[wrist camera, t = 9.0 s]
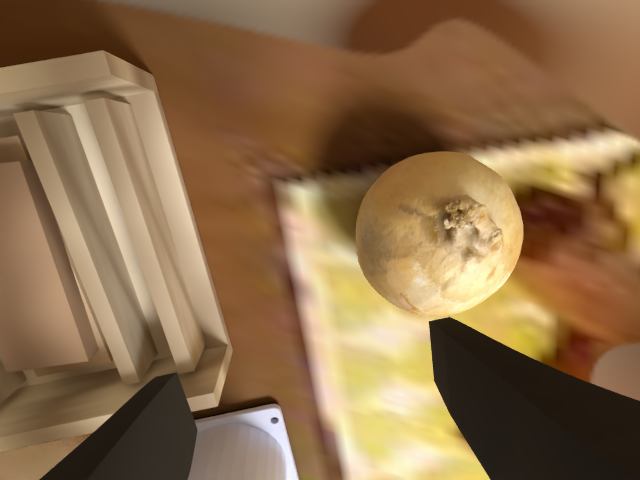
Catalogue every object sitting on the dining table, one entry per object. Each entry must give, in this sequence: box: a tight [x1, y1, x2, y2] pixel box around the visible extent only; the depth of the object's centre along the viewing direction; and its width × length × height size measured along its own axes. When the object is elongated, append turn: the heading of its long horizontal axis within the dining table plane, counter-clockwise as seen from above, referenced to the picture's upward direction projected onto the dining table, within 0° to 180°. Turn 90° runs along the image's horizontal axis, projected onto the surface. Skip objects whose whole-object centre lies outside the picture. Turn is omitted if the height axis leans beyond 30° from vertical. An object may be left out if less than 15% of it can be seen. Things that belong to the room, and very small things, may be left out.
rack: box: [0, 50, 233, 452], centre depth 16 cm, size 16×16×5 cm
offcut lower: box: [0, 135, 113, 377], centre depth 17 cm, size 4×12×1 cm, turn 10°
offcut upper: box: [0, 160, 99, 373], centre depth 16 cm, size 4×10×1 cm, turn 6°
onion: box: [356, 152, 523, 316], centre depth 16 cm, size 8×8×7 cm
